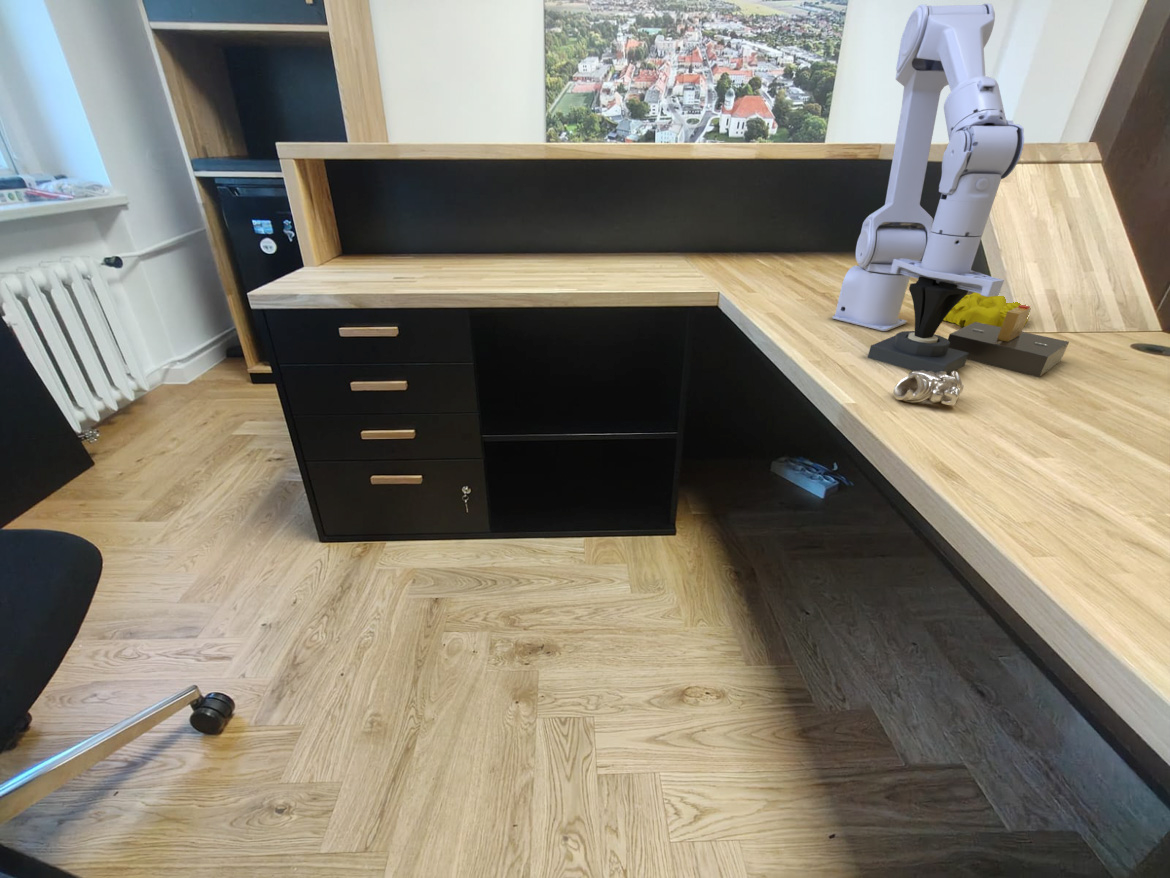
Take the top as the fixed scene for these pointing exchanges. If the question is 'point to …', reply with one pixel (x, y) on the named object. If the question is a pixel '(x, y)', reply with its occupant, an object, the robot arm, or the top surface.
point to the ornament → (929, 387)
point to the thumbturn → (1014, 323)
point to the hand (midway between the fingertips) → (923, 336)
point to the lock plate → (1008, 349)
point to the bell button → (924, 340)
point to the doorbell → (918, 354)
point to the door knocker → (980, 310)
